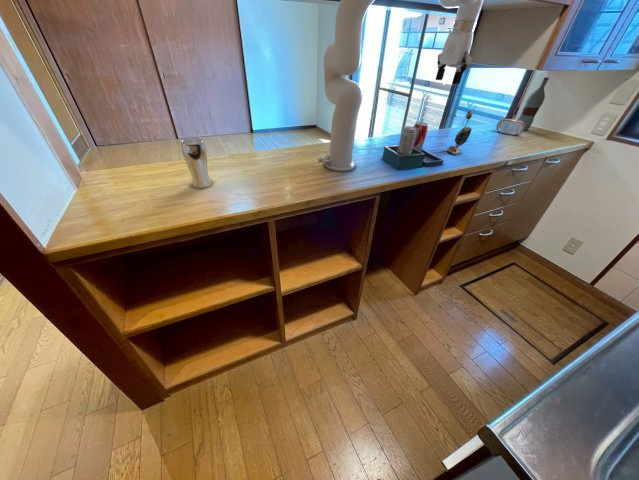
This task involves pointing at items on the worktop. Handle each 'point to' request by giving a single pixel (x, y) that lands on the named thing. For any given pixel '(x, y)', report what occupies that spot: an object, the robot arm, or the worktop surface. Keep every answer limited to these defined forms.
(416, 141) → the soda can
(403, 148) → the energy drink can
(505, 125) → the tin
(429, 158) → the tray
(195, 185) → the beer glass
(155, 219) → the worktop surface
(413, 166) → the basket
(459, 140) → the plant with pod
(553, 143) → the worktop surface
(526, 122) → the bottle
